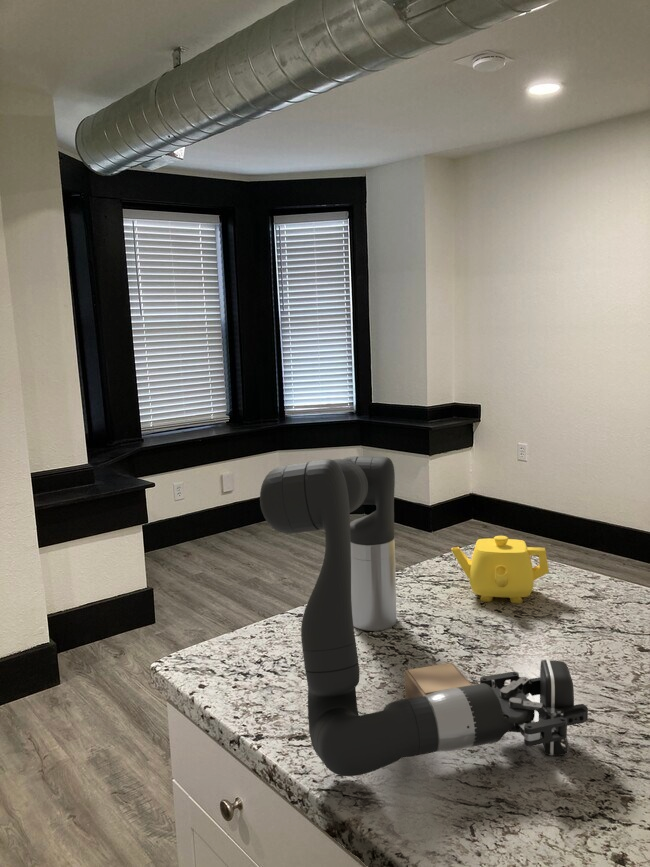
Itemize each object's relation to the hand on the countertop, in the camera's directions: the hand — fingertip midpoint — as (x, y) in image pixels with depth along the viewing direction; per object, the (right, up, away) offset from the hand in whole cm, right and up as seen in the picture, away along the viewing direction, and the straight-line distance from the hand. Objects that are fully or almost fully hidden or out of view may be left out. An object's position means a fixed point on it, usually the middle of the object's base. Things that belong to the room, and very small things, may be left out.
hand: (569, 697), depth 98 cm
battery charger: (-2, -7, +1) cm, 7 cm away
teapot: (+3, +2, +51) cm, 51 cm away
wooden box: (-16, -6, +10) cm, 20 cm away
